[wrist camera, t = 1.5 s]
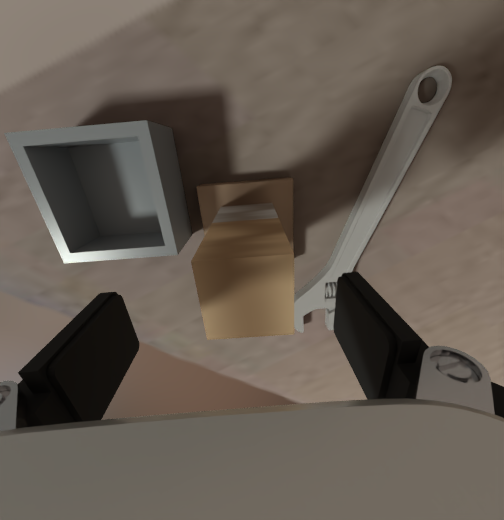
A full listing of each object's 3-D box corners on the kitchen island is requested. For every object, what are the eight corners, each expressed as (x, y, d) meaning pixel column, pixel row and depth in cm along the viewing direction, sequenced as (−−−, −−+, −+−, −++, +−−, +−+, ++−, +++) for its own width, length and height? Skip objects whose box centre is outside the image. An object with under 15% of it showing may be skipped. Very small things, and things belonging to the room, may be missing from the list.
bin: (171, 127, 19) (146, 120, 14) (192, 234, 23) (177, 254, 18) (62, 137, 19) (4, 133, 14) (101, 241, 23) (64, 263, 18)
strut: (272, 202, 20) (294, 253, 10) (274, 250, 22) (294, 334, 12) (220, 206, 20) (190, 261, 10) (227, 253, 22) (207, 339, 12)
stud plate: (290, 177, 20) (303, 185, 15) (291, 259, 24) (302, 289, 19) (199, 184, 21) (183, 195, 16) (213, 265, 24) (203, 295, 19)
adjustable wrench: (413, 65, 18) (430, 56, 16) (479, 101, 19) (501, 96, 17) (280, 315, 27) (282, 326, 26) (328, 330, 28) (333, 341, 27)
